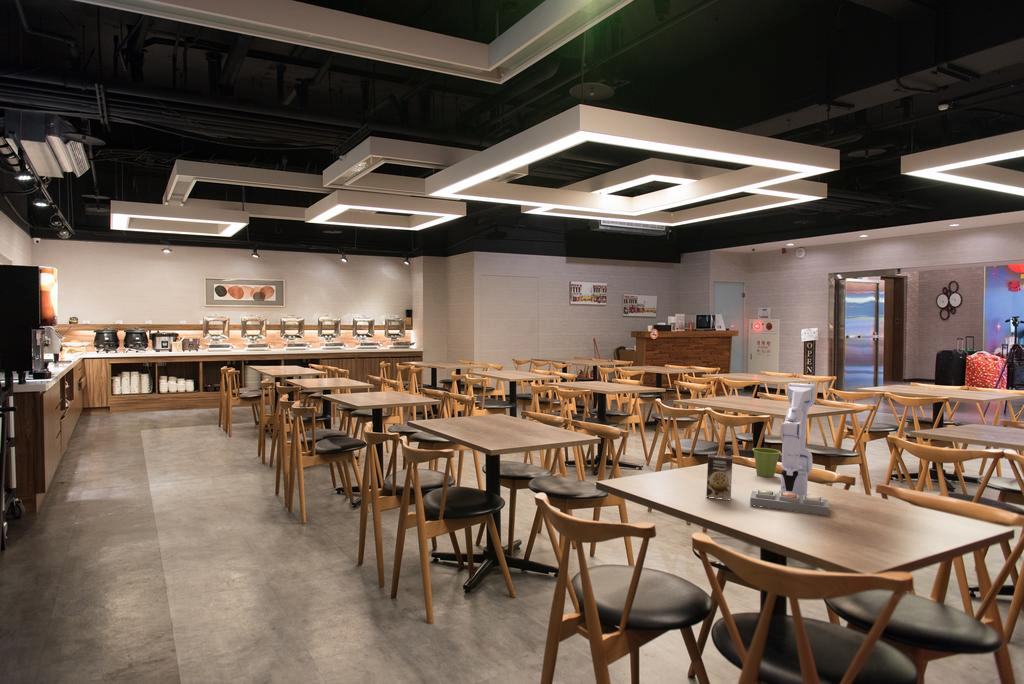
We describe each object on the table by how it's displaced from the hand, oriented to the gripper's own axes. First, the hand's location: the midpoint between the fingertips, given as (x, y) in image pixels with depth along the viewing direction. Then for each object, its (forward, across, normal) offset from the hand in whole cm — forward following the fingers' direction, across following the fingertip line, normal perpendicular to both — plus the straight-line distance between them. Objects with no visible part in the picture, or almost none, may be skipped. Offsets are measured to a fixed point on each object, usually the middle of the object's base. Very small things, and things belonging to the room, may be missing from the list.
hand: (789, 490), depth 234 cm
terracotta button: (+3, 0, 0) cm, 3 cm away
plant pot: (+6, +48, +10) cm, 50 cm away
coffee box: (+6, +1, +25) cm, 26 cm away
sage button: (+3, 0, +8) cm, 8 cm away
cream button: (+3, 0, -8) cm, 8 cm away
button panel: (+6, 0, 0) cm, 6 cm away
